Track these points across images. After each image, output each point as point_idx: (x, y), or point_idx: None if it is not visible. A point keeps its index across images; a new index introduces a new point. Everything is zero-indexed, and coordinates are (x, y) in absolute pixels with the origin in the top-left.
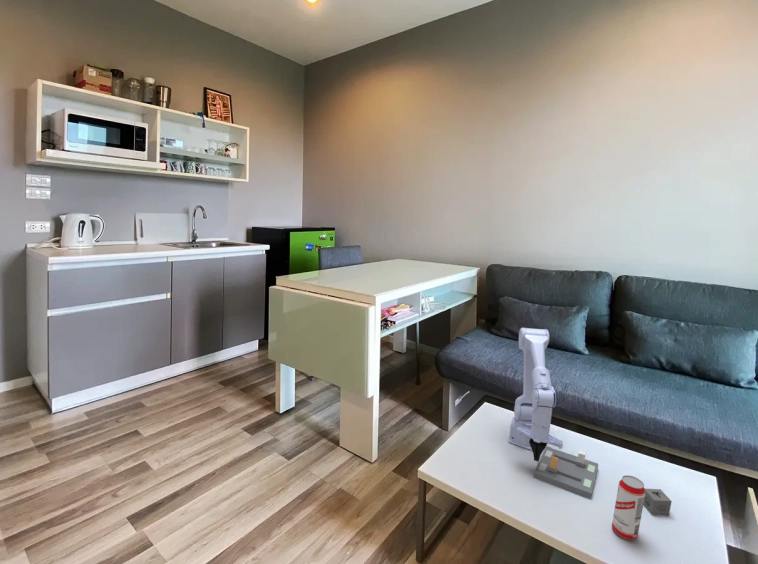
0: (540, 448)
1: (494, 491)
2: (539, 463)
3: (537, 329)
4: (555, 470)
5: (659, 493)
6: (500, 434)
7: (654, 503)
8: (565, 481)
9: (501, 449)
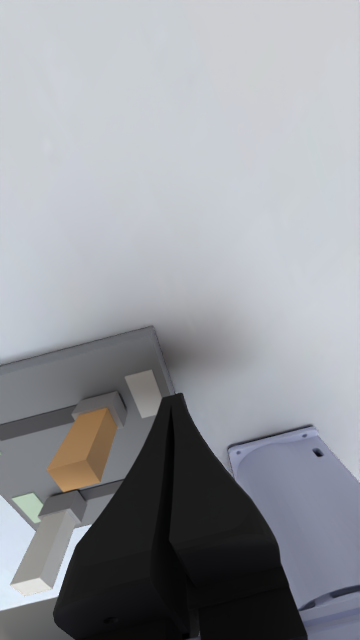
0: (123, 520)
1: (228, 34)
2: None
3: None
4: (81, 408)
5: None
6: (349, 439)
7: None
8: (26, 385)
9: (320, 376)
